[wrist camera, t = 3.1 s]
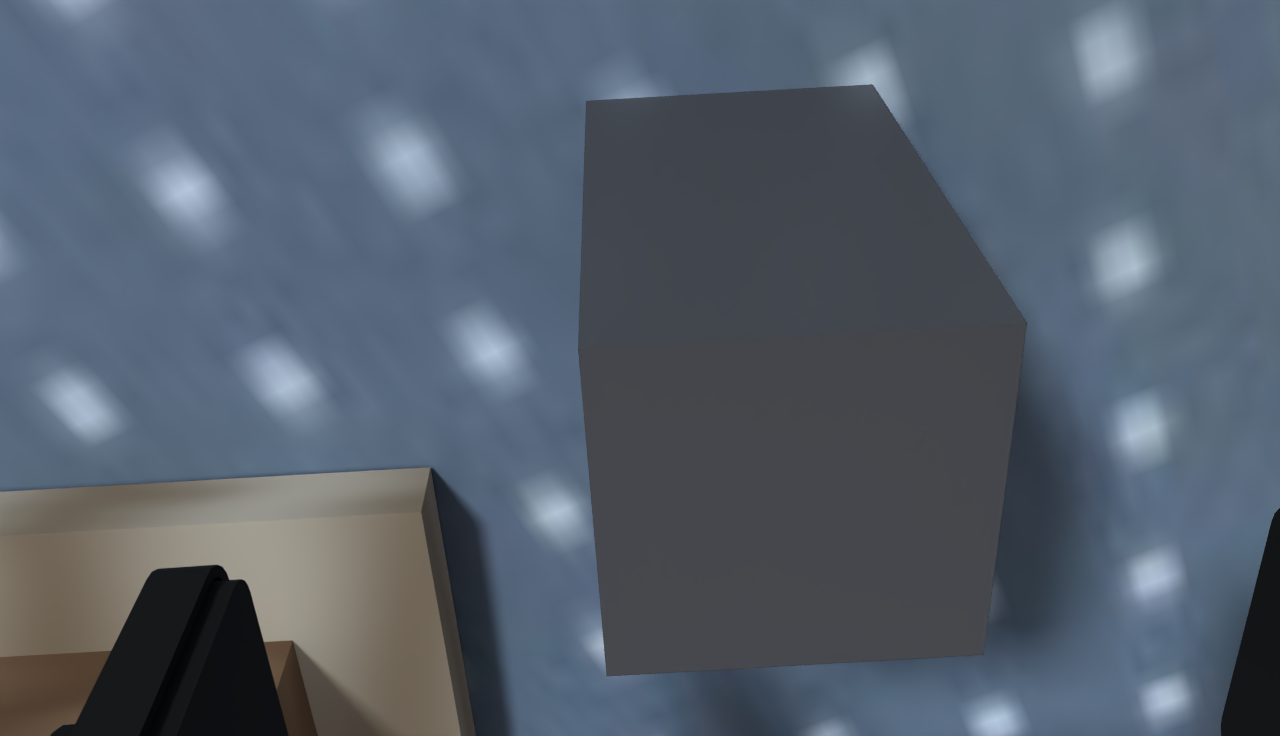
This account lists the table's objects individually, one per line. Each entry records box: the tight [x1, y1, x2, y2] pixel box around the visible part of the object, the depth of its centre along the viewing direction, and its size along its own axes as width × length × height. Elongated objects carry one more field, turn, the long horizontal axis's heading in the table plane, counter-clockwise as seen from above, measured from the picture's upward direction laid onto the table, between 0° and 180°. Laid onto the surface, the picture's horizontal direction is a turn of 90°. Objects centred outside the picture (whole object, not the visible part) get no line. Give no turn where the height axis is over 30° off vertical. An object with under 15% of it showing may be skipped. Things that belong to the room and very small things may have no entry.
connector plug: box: [578, 85, 1027, 676], centre depth 15 cm, size 4×4×7 cm
